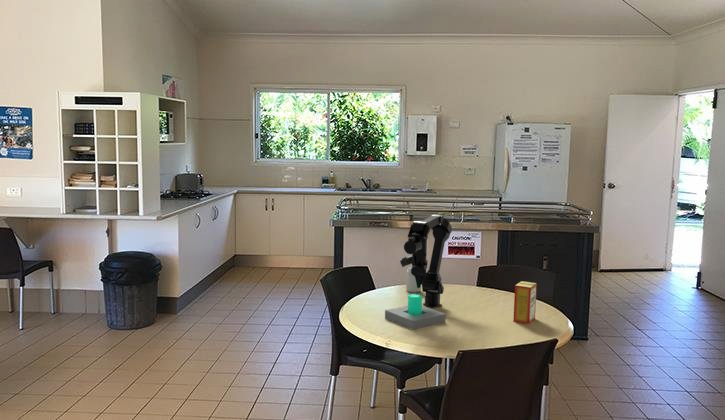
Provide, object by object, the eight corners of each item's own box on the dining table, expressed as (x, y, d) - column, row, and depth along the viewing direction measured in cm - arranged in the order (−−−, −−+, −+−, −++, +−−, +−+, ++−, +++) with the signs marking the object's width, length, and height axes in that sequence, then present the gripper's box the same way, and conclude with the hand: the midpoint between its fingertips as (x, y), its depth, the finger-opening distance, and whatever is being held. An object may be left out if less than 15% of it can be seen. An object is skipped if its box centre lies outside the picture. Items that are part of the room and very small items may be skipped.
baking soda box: (528, 324, 245) (530, 286, 243) (513, 321, 248) (515, 284, 246) (534, 318, 253) (536, 282, 251) (519, 316, 256) (521, 280, 254)
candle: (424, 320, 247) (425, 292, 246) (413, 322, 244) (414, 294, 242) (415, 316, 252) (416, 289, 251) (404, 319, 248) (405, 291, 247)
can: (420, 293, 292) (420, 269, 291) (405, 292, 294) (405, 268, 292) (421, 289, 299) (422, 266, 298) (407, 288, 301) (407, 265, 300)
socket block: (416, 311, 260) (417, 304, 259) (445, 322, 245) (445, 314, 245) (384, 318, 249) (385, 310, 249) (412, 329, 235) (412, 320, 234)
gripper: (403, 245, 264) (402, 279, 266) (399, 253, 245) (398, 290, 247) (427, 246, 262) (427, 280, 264) (426, 254, 244) (425, 291, 246)
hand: (419, 285), depth 255 cm, fingers open, 9 cm apart
